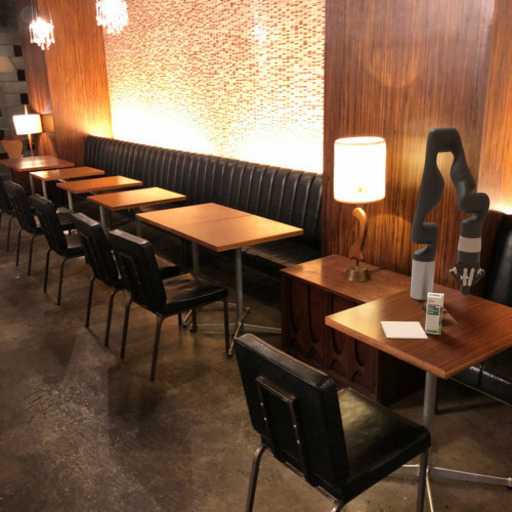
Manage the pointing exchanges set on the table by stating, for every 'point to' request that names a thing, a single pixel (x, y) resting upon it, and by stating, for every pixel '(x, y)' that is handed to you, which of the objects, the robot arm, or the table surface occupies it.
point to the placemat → (403, 330)
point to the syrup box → (434, 313)
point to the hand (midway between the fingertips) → (464, 294)
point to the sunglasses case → (443, 315)
